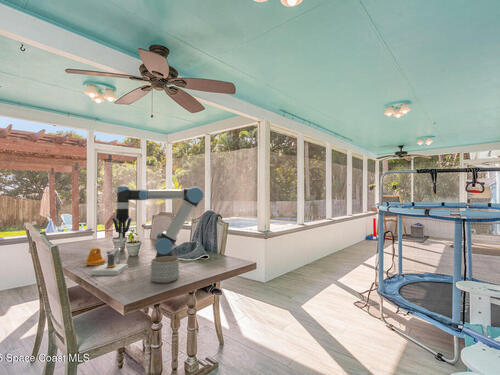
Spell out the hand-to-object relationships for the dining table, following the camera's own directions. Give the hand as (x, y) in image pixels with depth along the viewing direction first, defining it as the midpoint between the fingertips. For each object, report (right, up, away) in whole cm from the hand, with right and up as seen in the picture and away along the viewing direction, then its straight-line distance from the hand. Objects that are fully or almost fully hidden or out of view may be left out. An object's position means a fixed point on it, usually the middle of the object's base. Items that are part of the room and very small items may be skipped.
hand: (121, 242), depth 183 cm
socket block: (-6, -19, -2) cm, 21 cm away
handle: (-6, -19, +1) cm, 20 cm away
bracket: (-27, -20, +15) cm, 37 cm away
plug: (-6, -20, -2) cm, 21 cm away
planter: (+36, -20, -18) cm, 45 cm away
